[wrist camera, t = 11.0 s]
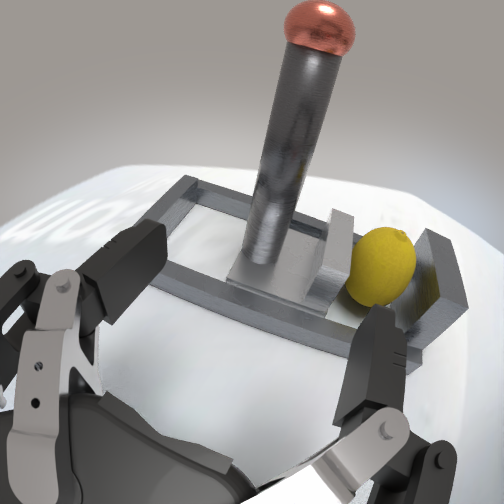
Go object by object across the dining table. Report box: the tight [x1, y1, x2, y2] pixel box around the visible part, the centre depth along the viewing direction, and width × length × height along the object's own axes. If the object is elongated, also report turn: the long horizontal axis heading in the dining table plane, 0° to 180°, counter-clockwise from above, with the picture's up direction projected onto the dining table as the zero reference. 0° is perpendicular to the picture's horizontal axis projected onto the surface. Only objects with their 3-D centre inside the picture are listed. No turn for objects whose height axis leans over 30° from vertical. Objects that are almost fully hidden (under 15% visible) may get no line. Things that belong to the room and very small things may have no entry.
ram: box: [226, 0, 355, 318], centre depth 18 cm, size 8×8×21 cm
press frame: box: [133, 175, 469, 375], centre depth 23 cm, size 26×13×7 cm, turn 72°
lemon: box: [345, 227, 416, 307], centre depth 22 cm, size 6×6×8 cm
